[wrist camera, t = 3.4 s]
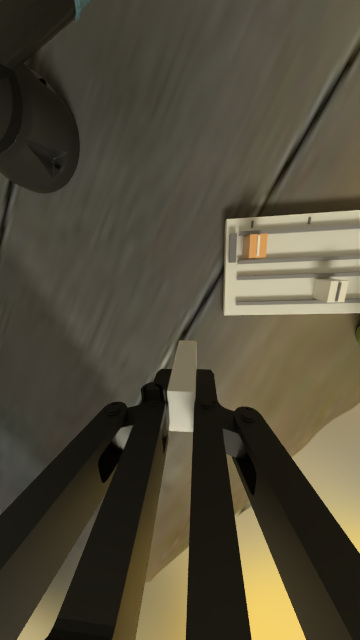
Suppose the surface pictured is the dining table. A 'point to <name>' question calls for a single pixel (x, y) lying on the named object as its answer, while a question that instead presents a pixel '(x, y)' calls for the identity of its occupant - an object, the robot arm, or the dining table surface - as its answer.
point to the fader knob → (255, 246)
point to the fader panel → (294, 265)
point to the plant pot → (358, 334)
